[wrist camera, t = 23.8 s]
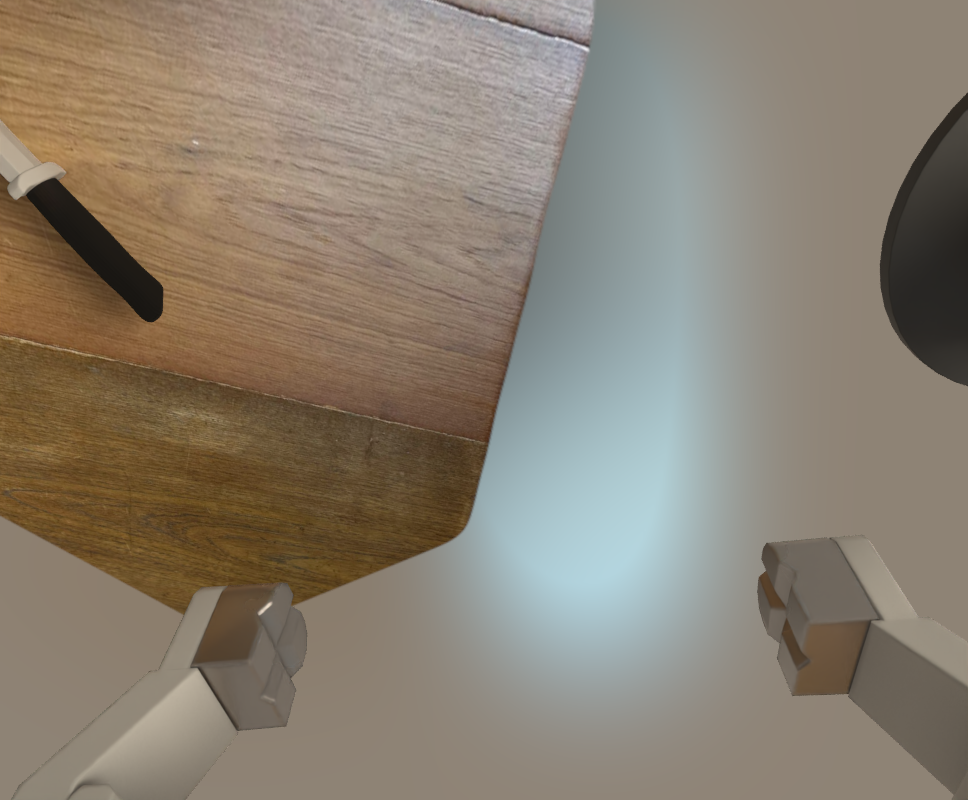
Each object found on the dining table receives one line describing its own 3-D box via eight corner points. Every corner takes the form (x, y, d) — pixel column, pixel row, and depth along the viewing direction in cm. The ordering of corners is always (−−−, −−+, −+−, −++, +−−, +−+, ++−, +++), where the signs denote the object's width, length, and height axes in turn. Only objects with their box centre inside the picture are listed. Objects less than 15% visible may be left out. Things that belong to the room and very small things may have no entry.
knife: (-173, -50, 37) (-258, -53, 32) (-155, -72, 36) (-239, -78, 32) (172, 300, 48) (142, 331, 44) (189, 288, 47) (161, 318, 43)
